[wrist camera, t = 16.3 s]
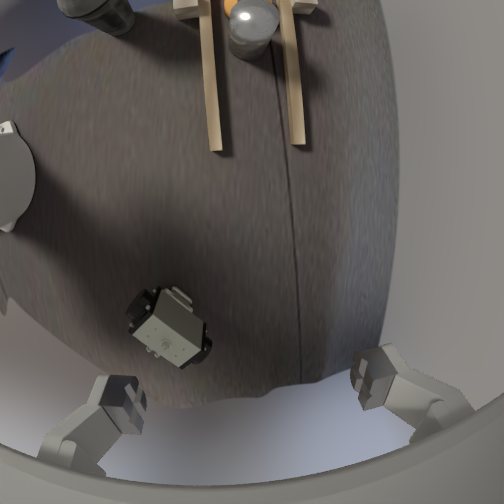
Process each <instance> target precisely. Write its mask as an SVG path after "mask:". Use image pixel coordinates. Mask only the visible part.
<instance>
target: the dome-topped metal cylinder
mask: <svg viewBox="0 0 504 504" xmlns="http://www.w3.org/2000/svg"><path fill="white" fill-rule="evenodd" d="M279 22H280V14H279V11H278V9H277V8H276V7H275V6H274V5H273V4H272V3H271V2H269V1H267V0H241V1H239V2H237V3H236V4H235V5H234V6H233V7H232V9H231V12H230V22H229V49H230V51H231V53H232V54H233V55H234V56H236V57H237V58H239V59H243V60H253V59H256V58H258V57H260V56H261V55H262V54H263V53H264V52H265V50H266V48H267V46H268V44H269V42H270V40H271V38H272V36H273V34H274V32H275V30H276V28H277V26H278V24H279Z"/></svg>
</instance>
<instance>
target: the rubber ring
mask: <svg viewBox="0 0 504 504" xmlns="http://www.w3.org/2000/svg"><path fill="white" fill-rule="evenodd" d="M239 1H241V0H225V6H224V11H225V15H226V17H227V18H228V19H229V20H230V12H231V9H232V7H233V6H234V5H235V4H236V3H237V2H239ZM267 1H269V2H271V3H272V0H267Z"/></svg>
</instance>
